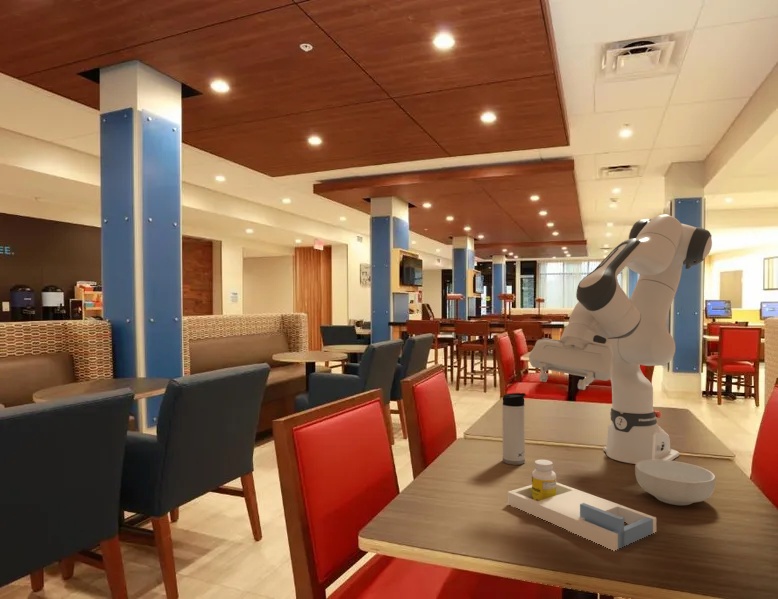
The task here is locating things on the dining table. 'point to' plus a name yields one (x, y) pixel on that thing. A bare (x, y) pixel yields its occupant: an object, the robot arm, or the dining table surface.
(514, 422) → the travel mug
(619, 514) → the pocket rack
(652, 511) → the dining table surface
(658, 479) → the cereal bowl
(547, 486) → the supplement bottle
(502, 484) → the dining table surface
